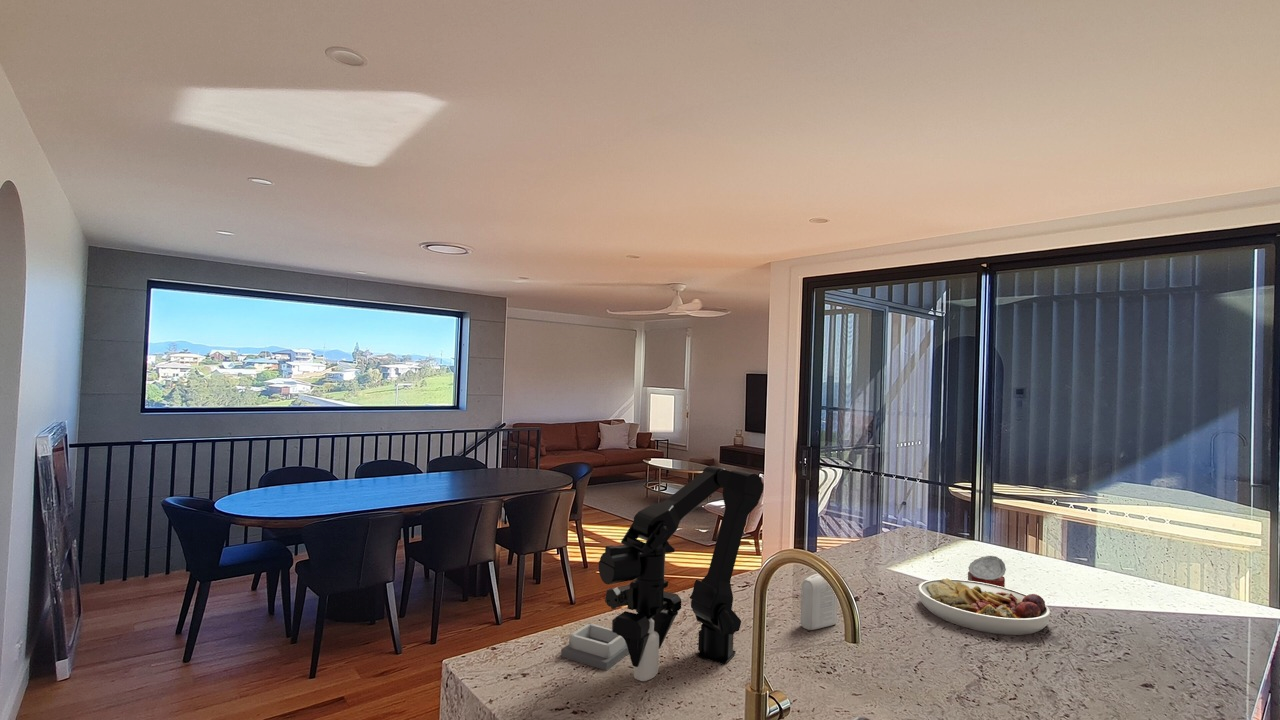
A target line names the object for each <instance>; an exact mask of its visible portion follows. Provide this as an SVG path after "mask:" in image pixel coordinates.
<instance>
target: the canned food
mask: <svg viewBox="0 0 1280 720" xmlns="http://www.w3.org/2000/svg"><path fill="white" fill-rule="evenodd" d="M1006 571H1007V568H1006V564H1005V562H1004V561H1003V560H1002V558H999V557H998V556H995V555H986V556H980V557H979V558H977V559H974V560H973V561H972V562H970V564H969V566H968V572H967V580H968V581H975V582H981V583H987V584H992V585H996V586H1001V587H1005V588H1006V586H1005V585H1006V584H1005V583H1006V580H1005V579H1006V578H1005V576H1004V575H1005V574H1006Z"/></svg>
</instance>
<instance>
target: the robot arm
mask: <svg viewBox="0 0 1280 720" xmlns="http://www.w3.org/2000/svg"><path fill="white" fill-rule="evenodd" d="M764 485H765V484H764V482H763V480H762V478H761V476H760V475H759V474H757V473H753V472H752V473H751V472H747V471H743V470H739V469H738V470H737V469H733V470H731V471H730V470H727V469H725V468H724V467H720V466H719V467H718V466H714V465H709V466H707V467H704V468H703V470H702V472H701V473H699V474H698V475H697V476H695V477H694V478H693V479H692V480H690V481H689V482H688V483H687V484H686V485H684V486H683V487H682V488H680V489H679V490H678V491H676V492H675V493H674V494H672V495H671V496H669V497H668V498H667V499H665V500H663V501H661V502H657V503H654V504H650V505H648V506H647V507H644V508H643V509H641V510H639V511H638V512H637V513H636V514H635V515H633V521H632V524H631V525H630V527H629V528H628V530H627V532H626V533H625V535H624V536H623V538H622V539H621V541H620V543H621V545H606V546H605V547H604V548H605V549H604V550H605V551H604V552H603V553H602V554H601V555H600V559H599V561H598V572H599V576H600V579H601V581H602V582H603V583H604V585H612V584H618V583H619V584H620V583H625V582H630V581H631V582H630V583H629V584H628V585H624V586H623V585H622V586H619V587H618V586H615V587H613V588H612V587H611V588H608V589H606V594H605V599H604V602H605V603H606V605H607V606H608V607H610V610H615V609H617V608H622V607H626V606H627V610H631V611H634V610H635V613H634V612H630V611H627V610H626V611H623V612H621V613H620V614H618V615H616V617H614V618H613V619H612V620H611V629H612V632H614V633H616V634H617V635H619V636H622V637H623V638H624V640H625V642H626V644H627V648H628V651H629V654H628V655H629V658H630V662H631V665H632V667H634V666H635V667H638V666H639V663H640V661H641V658H642V655H643V652H644V649H645V646H646V643H647V640H648V637H649V633H648V631H649V628H650V622H649V620H650V619H653V620H654V631H656V632H657V633H658V634H659V650H660V649H661V647H662V646H663V643H664V641H665V639H666V637H667V635H668V633H669V631H670V629H671V627H672V625H673V623H674V621H675V619H676V617H677V616H678V613H679V611H680V610H681V609H682V599H681V597H680V596H679V595H678V594H677V593H673V592H669V591H665V589H666V588H667V587H669V580H665V575H666V574H665V569H666V554H671V553H675V550H676V549H675V548H674V547H673V546H672V545H671V544H670V543H669V540H670V538H671V537H672V536H673V535H674V534H675V533H676V532H677V530H678V528H679V526H680V522H681V521H682V520H683V518H685V517H686V516H687V515H688V514H690V513H691V512H692V511H693V510H694V509H696V508H697V507H698V506H699V505H701V504H702V503H703V502H704V501H706V500H707V499H708V498H709V497H710V496H712V495H713V494H714V493H716V491H718V490H719V489H721V488H722V499H723V504H724V512H723V516H722V519H721V520H722V521H721V524H720V526H719V527H720V528H719V530H718V535H717V538H716V542H715V545H714V549H713V551H712V557H711V561H710V564H709V567H708V572H707V574H706V575H705V576H704V577H703V578H702V579H701V580H700V579H696V580H695V581H694V583H693V589H692V592H691V595H690V596H689V599H690V600H691V601H690V608H691V609H692V613H693V614H694V616H695V619H696V621H697V622H700V623H701V625H700V630H699V631H698V642H697V643H698V645H697V650H698V651H699V652H698V653H697V655H696V657H697V658H700V659H704V660H706V661H710V662H714V663H718V664H722V665H726V664H728V663H729V661H731V659H732V658H733V657H734V656H735V655H736V651H737V650H736V651H735V650H734V635H735V633H736V632H739V631H740V628H741V624H742V620H741V618H740V617H739V616H738V614H736V613H735V611H734V610H733V603H734V595H733V590H732V586H731V579H732V576H733V571H734V568H735V564H736V560H737V557H738V553H739V549H740V546H741V541H742V539H743V533H744V530H745V526H746V522H747V519H748V516H749V514H750V513H752V512H753V510H754V509H755V508H756V507H757V506H758V504H759V502H760V500H761V497H762V494H763V492H764ZM638 538H640V539H641V540H639V539H638ZM642 540H643V541H642ZM644 541H645V542H644Z"/></svg>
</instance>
